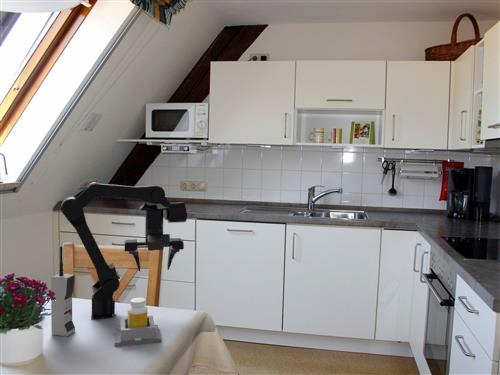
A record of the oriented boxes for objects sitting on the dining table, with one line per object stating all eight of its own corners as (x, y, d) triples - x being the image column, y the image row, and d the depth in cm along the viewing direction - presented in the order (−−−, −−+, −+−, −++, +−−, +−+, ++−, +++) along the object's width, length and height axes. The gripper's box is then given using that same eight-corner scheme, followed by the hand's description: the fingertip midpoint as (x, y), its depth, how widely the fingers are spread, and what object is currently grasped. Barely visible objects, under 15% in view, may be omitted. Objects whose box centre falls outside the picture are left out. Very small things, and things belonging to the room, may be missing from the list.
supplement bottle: (124, 332, 122) (124, 298, 121) (142, 327, 125) (142, 295, 124) (132, 338, 118) (132, 304, 117) (150, 334, 121) (150, 300, 120)
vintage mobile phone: (67, 337, 120) (66, 248, 118) (51, 335, 121) (50, 247, 119) (75, 331, 124) (75, 245, 122) (59, 329, 125) (59, 244, 123)
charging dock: (114, 346, 115) (114, 331, 114) (115, 331, 124) (115, 318, 124) (160, 342, 118) (160, 327, 118) (157, 327, 128) (157, 314, 127)
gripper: (124, 228, 130) (124, 279, 132) (186, 227, 136) (185, 275, 137) (124, 222, 141) (124, 269, 142) (181, 221, 147) (181, 266, 148)
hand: (153, 270), depth 142 cm, fingers open, 9 cm apart
